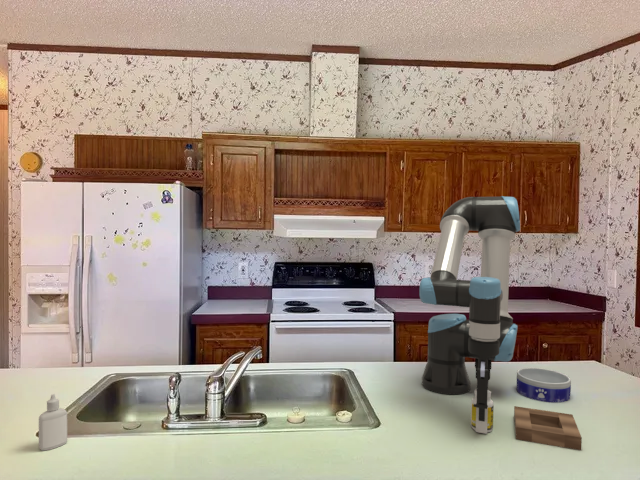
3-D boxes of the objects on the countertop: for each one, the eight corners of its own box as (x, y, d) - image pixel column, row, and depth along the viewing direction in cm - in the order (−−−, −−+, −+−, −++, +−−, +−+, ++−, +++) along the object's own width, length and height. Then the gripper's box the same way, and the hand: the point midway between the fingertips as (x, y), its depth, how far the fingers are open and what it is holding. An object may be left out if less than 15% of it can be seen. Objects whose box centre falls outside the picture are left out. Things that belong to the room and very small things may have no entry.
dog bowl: (569, 390, 144) (570, 371, 144) (571, 407, 131) (572, 386, 131) (517, 382, 151) (518, 364, 151) (514, 397, 138) (515, 378, 138)
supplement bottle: (494, 434, 113) (495, 395, 112) (472, 432, 114) (473, 393, 113) (491, 424, 118) (491, 388, 118) (469, 422, 119) (470, 386, 119)
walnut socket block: (514, 416, 123) (514, 406, 123) (572, 425, 118) (572, 414, 118) (516, 439, 110) (516, 427, 110) (581, 450, 105) (581, 437, 105)
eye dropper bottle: (65, 448, 103) (64, 396, 103) (36, 452, 101) (36, 399, 101) (68, 439, 107) (68, 390, 107) (41, 443, 105) (41, 392, 105)
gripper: (470, 329, 125) (468, 411, 126) (466, 345, 108) (464, 440, 109) (499, 331, 122) (497, 415, 123) (499, 348, 105) (497, 446, 106)
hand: (481, 427), depth 116 cm, fingers closed on supplement bottle, 5 cm apart
